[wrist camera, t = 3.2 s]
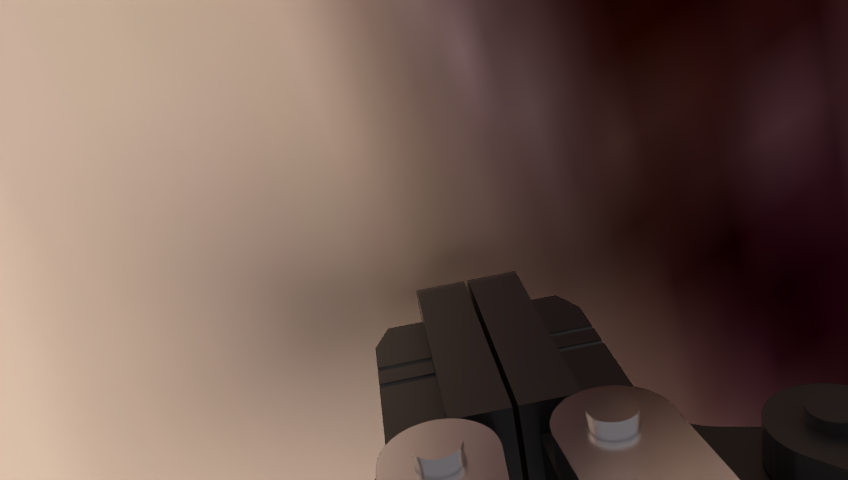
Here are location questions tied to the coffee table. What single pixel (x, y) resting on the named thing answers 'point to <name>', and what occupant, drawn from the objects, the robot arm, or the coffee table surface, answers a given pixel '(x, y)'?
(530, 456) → the robot arm
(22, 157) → the coffee table surface
